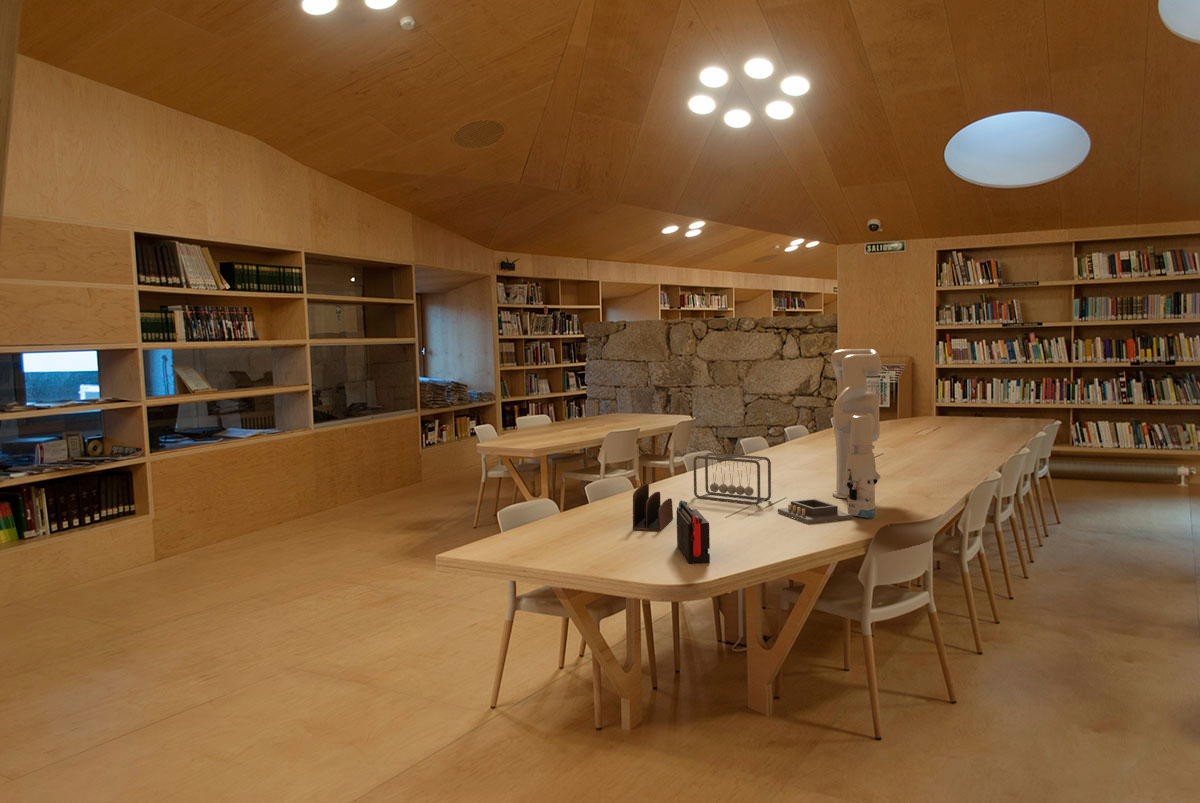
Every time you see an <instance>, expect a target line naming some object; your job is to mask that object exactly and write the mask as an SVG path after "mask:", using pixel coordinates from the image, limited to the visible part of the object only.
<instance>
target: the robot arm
mask: <svg viewBox="0 0 1200 803" xmlns="http://www.w3.org/2000/svg"><path fill="white" fill-rule="evenodd" d="M830 356H831V358H830V361H831V362H830V363H831V368H832V370H833V373H834V375H835V379H836V383H837V384H836V385H837V386H836V387H837V388H836V389H837V391H836V393H837V398H836V400H835V402H834V404H833V407H832V408H833V423H834V424H833V425H834V426H833V432H834V440H835V449H836V452H835V454H836V455H835V456H836V458H835V460H836V490H835V491H833V492H832V496H833V497H834V498H839V499H847V500H848V488H849V497H850V499H851V500H854V501H855V500H857V490H856V489H855V487H856V485H857V482H860V481H861V477H867V478H868V480H867V483H869V484H875V485H876V484H877V483H878V481H879V480H880V478H881V475H880V474H879V473H878V471H877V469H876V468H877V467H876V465H877V464H876V459H875V458H876V457H875V454H874V452H873V450H874V449H875V445H873V443H876V442H877V441H878V440H879V439H880V430H881V429H880V401H879V396H878V394H877V393H875V392H874V391H868V383H867V377H875V376H876V377H877V376H879V375H880V374H881V373H882V364H883V362H882V359H881V357H880V355H879V353H878V352H877V350H876V349H875V348H857V349H856V348H849V349H848V348H846V349H837V350H835V351H833V352H832V354H831V355H830ZM850 476H851V478H850ZM849 479H850V482H849V481H848V480H849ZM852 484H853V485H852Z"/></svg>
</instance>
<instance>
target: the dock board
mask: <svg viewBox="0 0 1200 803" xmlns="http://www.w3.org/2000/svg"><path fill="white" fill-rule="evenodd" d="M778 512H779V513H778ZM777 513H778V514H780V513H782V514H784V515H783V516H785V515H787V516H786V517H788V516H790V517H789V518H791V517H793V518H795V519H794V520H796V519H798V520H797V521H799V520H800V522H801V521H803V522H802V523H804V522H806V523H805V524H807V523H811V524H816V523H815V522H820V523H826V522H825V521H829V522H835V521H834V520H838V521H844V520H843V519H847V520H852V515H850V514H848V512H843V511H840V510H838V505H835V504H832V503H829V502H826V501H822V500H820V499H818V498H817V499H816V498H812V499H811V498H810V499H800V500H791V501H790V503H788V504H787V507H783V508H777ZM782 514H781V515H782ZM793 518H792V519H793Z"/></svg>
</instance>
